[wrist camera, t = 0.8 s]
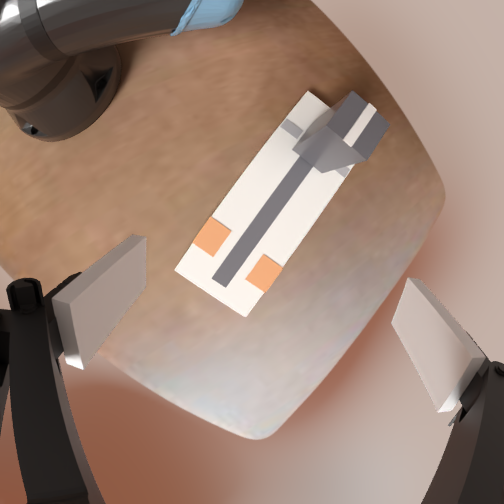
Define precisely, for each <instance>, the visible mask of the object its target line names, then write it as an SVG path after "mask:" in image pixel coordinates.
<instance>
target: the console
mask: <svg viewBox="0 0 504 504" xmlns="http://www.w3.org/2000/svg"><path fill="white" fill-rule="evenodd" d="M329 108H330V107H328V106H327V105H326V104H324V103H323V102H322V101H321V100H319V99H318V98H317V97H316V96H314V95H313V94H312V93H310V92H309V91H307V92H306V93H305V95H304V96H303V97H302V98H301V99H300V101H299V102H298V103H297V104H296V106H295V107H294V108H293V109H292V111H291V112H290V113H289V114H288V116H287V117H286V118H285V119H284V121H283V122H282V123H281V124H280V126H279V127H278V128H277V129H276V131H275V132H274V133H273V134H272V136H271V137H270V138H269V140H268V141H267V142H266V143H265V145H264V146H263V147H262V149H261V150H260V151H259V153H258V154H257V155H256V157H255V158H254V159H253V160H252V162H251V163H250V164H249V166H248V167H247V168H246V170H245V171H244V172H243V174H242V175H241V176H240V178H239V179H238V180H237V182H236V183H235V185H234V186H233V187H232V189H231V190H230V191H229V193H228V194H227V195H226V197H225V198H224V200H223V201H222V202H221V204H220V205H219V206H218V208H217V209H216V211H215V212H214V213H213V215H212V216H210V218H209V219H208V220H207V222H206V223H205V225H204V226H203V227H202V229H201V230H200V232H199V233H198V235H197V236H196V237H195V239H194V240H193V242H192V245H191V246H190V248H189V249H188V251H187V252H186V253H185V255H184V256H183V258H182V259H181V261H180V262H179V264H178V265H177V267H176V268H175V271H176V272H178V273H179V274H181V275H182V276H183V277H185V278H186V279H188V280H189V281H191V282H192V283H194V284H195V285H197V286H198V287H200V288H201V289H203V290H204V291H206V292H207V293H209V294H210V295H212V296H213V297H215V298H216V299H218V300H219V301H221V302H222V303H224V304H225V305H227V306H228V307H230V308H231V309H233V310H235V311H236V312H238V313H239V314H241V315H242V316H244V317H246V316H247V315H248V313H249V312H250V311H251V309H252V308H253V307H254V305H255V304H256V303H257V301H258V300H259V299H260V297H261V296H262V295H263V293H264V292H265V293H266V291H267V290H268V288H269V287H270V286H271V284H272V283H273V282H274V280H275V279H276V278H277V276H278V275H279V273H280V272H281V271H282V269H283V268H282V267H283V266H284V265H285V263H286V262H287V260H288V259H289V258H290V256H291V255H292V253H293V252H294V251H295V249H296V248H297V246H298V245H299V244H300V242H301V241H302V239H303V238H304V237H305V235H306V234H307V232H308V231H309V230H310V228H311V227H312V225H313V224H314V222H315V221H316V220H317V218H318V217H319V215H320V214H321V212H322V211H323V210H324V208H325V207H326V205H327V204H328V202H329V201H330V200H331V198H332V197H333V195H334V194H335V192H336V191H337V189H338V188H339V186H340V185H341V183H342V182H343V181H344V179H345V178H346V176H347V175H348V173H349V172H350V170H351V169H352V167H353V166H354V164H353V165H349V166H346V167H342V168H339V169H335V170H332V171H329V172H325V173H321V172H320V171H318V170H317V169H316V168H315V167H313V166H312V165H311V164H310V163H308V162H307V161H306V160H305V159H303V158H302V157H301V156H299V155H298V154H297V153H296V152H294V151H293V150H292V149H293V148H294V146H295V145H296V144H297V142H298V141H299V140H300V138H301V137H302V136H303V134H304V133H305V132H306V130H307V129H308V128H309V126H310V125H311V124H312V122H314V121H315V120H316V119H317V118H318V117H320V116H321V115H322V114H323V113H325V112H326V111H327V110H328V109H329Z"/></svg>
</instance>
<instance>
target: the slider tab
mask: <svg viewBox="0 0 504 504" xmlns="http://www.w3.org/2000/svg"><path fill="white" fill-rule="evenodd" d="M376 110H377V109H376V108H375V107H373V106H372V105H371V104H370V103H367V102H366V101H364V100H363V99H362V98H361V97H360V96H359V95H358V94H356V93H355V92H354V91H353V90H352V91H351V92H350V93H348V94H347V95H346V96H345V97H343V98H342V99H341V100H339V101H338V102H337V103H336V104H334V105H333V106H332V107H331V108H329V109H328V110H327V111H326V112H325V113H323V114H322V115H321V116H320V117H318V118H317V119H316V120H315V121H314V122H312V124H311V125H310V126H309V128H308V129H307V130H306V132H305V133H304V134H303V136H302V137H301V138H300V140H299V141H298V142H297V144H296V145H295V146H294V148H293V149H292V150H293V151H294V152H296V153H297V154H298V155H299V156H301V157H302V158H303V159H305V160H306V161H307V162H308V163H310V164H311V165H312V166H313V167H315V168H316V169H317V170H318V171H320V172H321V173H325V172H329V171H332V170H335V169H339V168H342V167H346V166H349V165H353V164H356V163H360V162H363V161H367V160H368V158H369V157H370V155H371V154H372V152H373V151H374V149H375V147H376V146H377V144H378V143H379V141H380V140H381V138H382V137H383V135H384V133H385V132H386V130H387V129H388V127H389V126H390V124H389V123H388V122H387V121H386V120H385V119H384V118H383V117H382V116H381V115H380V114H379V113H378V112H377V111H376Z"/></svg>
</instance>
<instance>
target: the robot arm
mask: <svg viewBox="0 0 504 504" xmlns="http://www.w3.org/2000/svg"><path fill="white" fill-rule="evenodd" d="M243 2H244V0H0V106H1V107H3V108H5V109H6V110H7V112H8V113H9V114H10V116H11V117H12V119H13V120H14V122H15V123H16V124H17V126H18V127H19V128H20V129H21V130H22V131H23V132H24V133H25V134H27V135H29V136H31V137H33V138H36V139H39V140H42V141H47V142H55V141H61V140H65V139H68V138H70V137H73V136H75V135H76V134H78V133H80V132H82V131H83V130H85V129H86V128H87V127H89V126H90V125H91V124H92V123H93V122H94V121H95V120H96V119H97V118H98V117H99V116H100V115H101V114H102V113H103V112H104V110H105V109H106V108H107V106H108V105H109V103H110V102H111V100H112V98H113V96H114V94H115V92H116V90H117V87H118V84H119V81H120V76H121V58H120V55H119V52H118V50H117V48H116V47H115V45H116V44H120V43H125V42H130V41H134V40H140V39H145V38H150V37H156V36H163V35H170V36H176V35H178V34H180V33H181V32H185V31H192V30H199V29H206V28H214V27H219V26H222V25H224V24H226V23H227V22H229V21H230V20H231V19H232V18H234V16H235V15H236V14H237V12H238V11H239V9H240V8H241V6H242V4H243ZM145 288H146V237H145V236H139V235H133V234H132V235H131V236H130V237H128V238H127V239H126V240H124V241H123V242H121V243H120V244H119V245H117V246H116V247H115V248H114V249H112V250H111V251H110V252H108V253H107V254H106V255H104V256H103V257H102V258H101V259H99V260H98V261H97V262H95V263H94V264H93V265H92V266H90V267H89V268H88V269H87V270H85V271H84V272H83V273H82V272H78V273H76V274H73V275H71V276H69V277H68V278H67V279H65V280H64V281H63V282H62V283H60V284H59V285H58V286H57V288H54V289H53V290H52V291H50V292H49V293H48V294H47V295H46V296H44V297H43V293H42V287H41V283H40V281H38V280H37V279H34V278H22V279H18V280H16V281H13V282H12V283H10V284H9V285H8V287H7V289H6V291H7V295H8V300H9V304H10V308H11V310H4V309H0V434H1V427H2V421H3V415H4V410H5V404H6V399H7V395H8V390H9V386H10V399H11V411H12V420H13V429H14V436H15V443H16V449H17V454H18V460H19V465H20V470H21V475H22V479H23V483H24V487H25V491H26V495H27V504H106V503H105V502H104V499H103V497H102V495H101V493H100V490H99V488H98V486H97V484H96V481H95V479H94V476H93V474H92V471H91V469H90V466H89V464H88V461H87V459H86V456H85V453H84V450H83V448H82V445H81V442H80V439H79V436H78V432H77V429H76V426H75V423H74V420H73V416H72V412H71V409H70V406H69V401H68V398H67V394H66V390H65V385H64V381H63V376H62V372H61V367H60V363H59V359H58V357H59V356H60V355H61V353H62V352H63V351H64V355H65V359H66V362H67V364H69V365H72V366H75V367H77V368H81V369H83V370H84V369H85V367H86V366H87V365H88V363H89V362H90V360H91V359H92V358H93V356H94V355H95V353H96V352H97V351H98V349H99V348H100V347H101V345H102V344H103V343H104V341H105V340H106V339H107V337H108V336H109V334H110V333H111V332H112V330H113V329H114V328H115V327H116V325H117V324H118V323H119V321H120V320H121V319H122V317H123V316H124V315H125V313H126V312H127V311H128V310H129V308H130V307H131V306H132V304H133V303H134V302H135V301H136V299H137V298H138V297H139V295H140V294H141V293H142V292H143V290H144V289H145ZM391 324H392V326H393V327H394V329H395V331H396V333H397V335H398V336H399V338H400V340H401V342H402V344H403V345H404V347H405V349H406V351H407V353H408V355H409V357H410V358H411V360H412V362H413V364H414V366H415V368H416V370H417V372H418V374H419V376H420V378H421V380H422V382H423V383H424V386H425V388H426V390H427V392H428V394H429V396H430V398H431V400H432V402H433V404H434V406H435V408H436V410H437V412H446V411H452V409H453V408H454V406H455V405H456V404H457V402H458V400H460V402H461V404H462V407H461V409H460V410H459V411H458V413H457V414H456V415H455V417H454V418H453V419H452V421H451V422H450V423H449V425H448V426H451V425H452V423H454V426H453V429H452V432H451V435H450V438H449V441H448V443H447V446H446V449H445V451H444V454H443V456H442V459H441V461H440V464H439V466H438V469H437V471H436V474H435V476H434V478H433V480H432V482H431V485H430V487H429V489H428V491H427V493H426V495H425V497H424V499H423V501H422V503H421V504H504V364H503V363H500V362H497V361H493V362H490V361H489V359H488V358H487V356H486V355H485V354H484V353H483V352H482V350H481V349H480V348H479V346H477V344H476V342H475V341H473V339H472V338H471V336H470V335H469V334H468V333H467V332H466V331H465V330H464V329H463V328H462V327H461V325H460V324H459V323H458V322H457V321H456V319H455V318H454V317H453V316H452V315H451V314H450V313H449V311H448V310H447V309H446V308H445V307H444V305H443V304H442V303H441V302H440V301H439V300H438V299H437V298H436V296H435V295H434V294H433V293H432V292H431V291H430V290H429V289H428V288H427V286H426V285H425V284H424V283H423V282H422V281H421V280H420V279H415V278H409V277H408V279H407V282H406V284H405V287H404V290H403V293H402V296H401V298H400V301H399V304H398V307H397V310H396V312H395V314H394V317H393V320H392V322H391Z"/></svg>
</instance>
